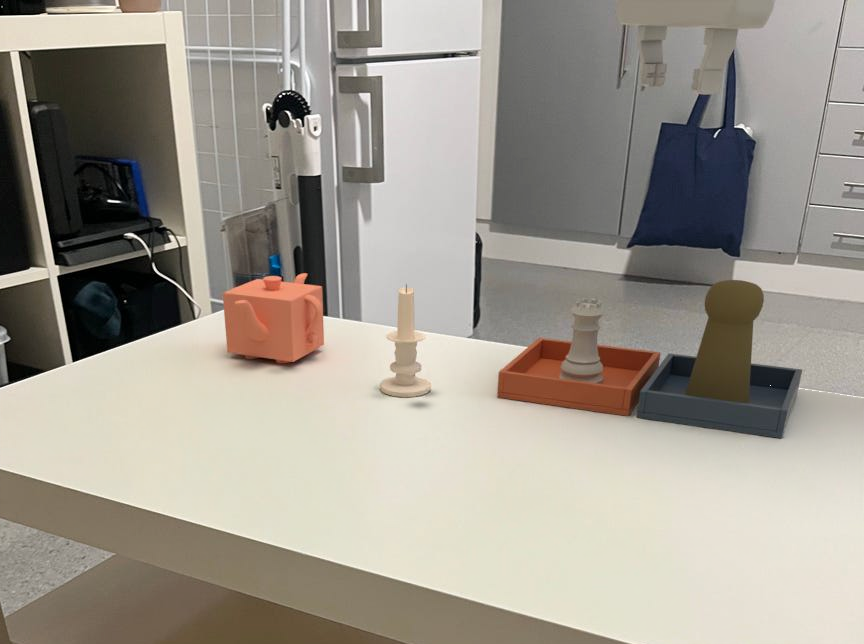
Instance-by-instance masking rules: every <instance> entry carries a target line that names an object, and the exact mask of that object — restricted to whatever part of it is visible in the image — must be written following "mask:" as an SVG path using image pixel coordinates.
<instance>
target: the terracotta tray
mask: <svg viewBox="0 0 864 644" xmlns="http://www.w3.org/2000/svg"><path fill="white" fill-rule="evenodd" d="M571 343H572V341H569V340H562V339H561V340H560V339H554V338H553V339H552V338H544V337H538V338H536V340H535V341H534V342H532V343H531V344H530V345H529V346H527V348H525V349H524V350H522V352H520V353H519V354H518V355H517V356H515V357H514V359H512V360H511V361H510V362H508V363H507V364H506V365H505V366H504V367H502V368H501V369H500V370H499V371H498V379H497V398H500V399H507V400H513V401H520V402H529V403H533V404H534V403H535V404H542V405H547V406H549V405H550V406H555V407H561V408H562V407H563V408H570V409H576V410H582V411H590V412H597V413H605V414H611V415H617V416H618V415H619V416H625V417H629V416H630V414H631V412H632V411H633V410H634V409H635V407H636V406H637V405H638V403H639V396H640V391H641V390H642V388H643V387H644V386H645V384H646V383H647V382H648V380H649V379H650V378H651V376H652V375H653V374H654V372H655V371H656V370H657V368H658V367H659V366H660V361H661V360H660V359H661V352H659V351H652V350H645V349H644V350H643V349H637V348H628V347H619V346H611V345H603V344H597V348H598V356H599V357H600V360H599V361H600V362H601V363H602V365H603V371H602V372H601V373H600V375H601V376H602V377H603V379H602V381H601V382H600V383H591V382H584V381H576V380H569V379H562V378H559V375H560V374H561V373H562V372H563V371H562V370H561V365H562V362H563V361H564V360H565V359H566V355H568V354H569V351H570V347H571Z"/></svg>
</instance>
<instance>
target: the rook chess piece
mask: <svg viewBox="0 0 864 644" xmlns="http://www.w3.org/2000/svg"><path fill="white" fill-rule="evenodd" d="M590 301H591V302H588V298H587V297H586V298H582V299H579V298H578V299H576V300H575V304H574V306H573V307H572V309H571V310H570V312H571V314H572V316H573V318H574V322H573V324H572V325H571V328H572V330H573V332H572V339H571V342H572V343H571V347H570V351H569V354H568V355H566V359H565V360H564V361H563V362H562V365H561V370H562V371H563V372H562V373H561V374H560V375H559V378H562V379H569V380H576V381H584V382H591V383H600V382H601V381H602V379H603V377H602V376H601V375H600V373H601V372H602V371H603V365H602V363H601V362H600V361H599V360H600V357H599V356H598V348H597V345H598V336H599V335H598V334H599V331H600V329H601V325H600V324H599V322H600V319H601V318H602V317H603V316H604V314H605V311H604V309H603V307H602V303H603V301H601V300H598V299H597V298H591V300H590Z"/></svg>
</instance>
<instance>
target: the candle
mask: <svg viewBox="0 0 864 644" xmlns="http://www.w3.org/2000/svg"><path fill="white" fill-rule="evenodd" d="M397 297H398V299H397V331H392V332H389V333H387V334H386V339H387V340H389V341H391V342H394V346H395V350H394V359H395V361H393V362H391V363H390V364H389V370H390V371H391V372H392V373H394V374H395V376H390V377H387V378H385V379H383V380H382V381H380V383H379V389H380V392H382V393H383V394H385V395H388V396H391V397H397V398H415V397H420V396H423V395H426V394H428V393H430V392H431V388H432V383H431V382H430V381H429V380H428V379H427V378H423V377H419V376H416V374H417V373H419V372H421V371H422V364H421V363H420V362H418V361H417V355H418V350H417V347H418V346H417V345H418V343H419V342H421V341H423V340H425V339H426V335H425V334H424V333H423V332H419V331H415V290H414V288H412V287H408V284H407V283H406V284H405V286H404V287H401V288H399V290H398V296H397Z"/></svg>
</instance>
